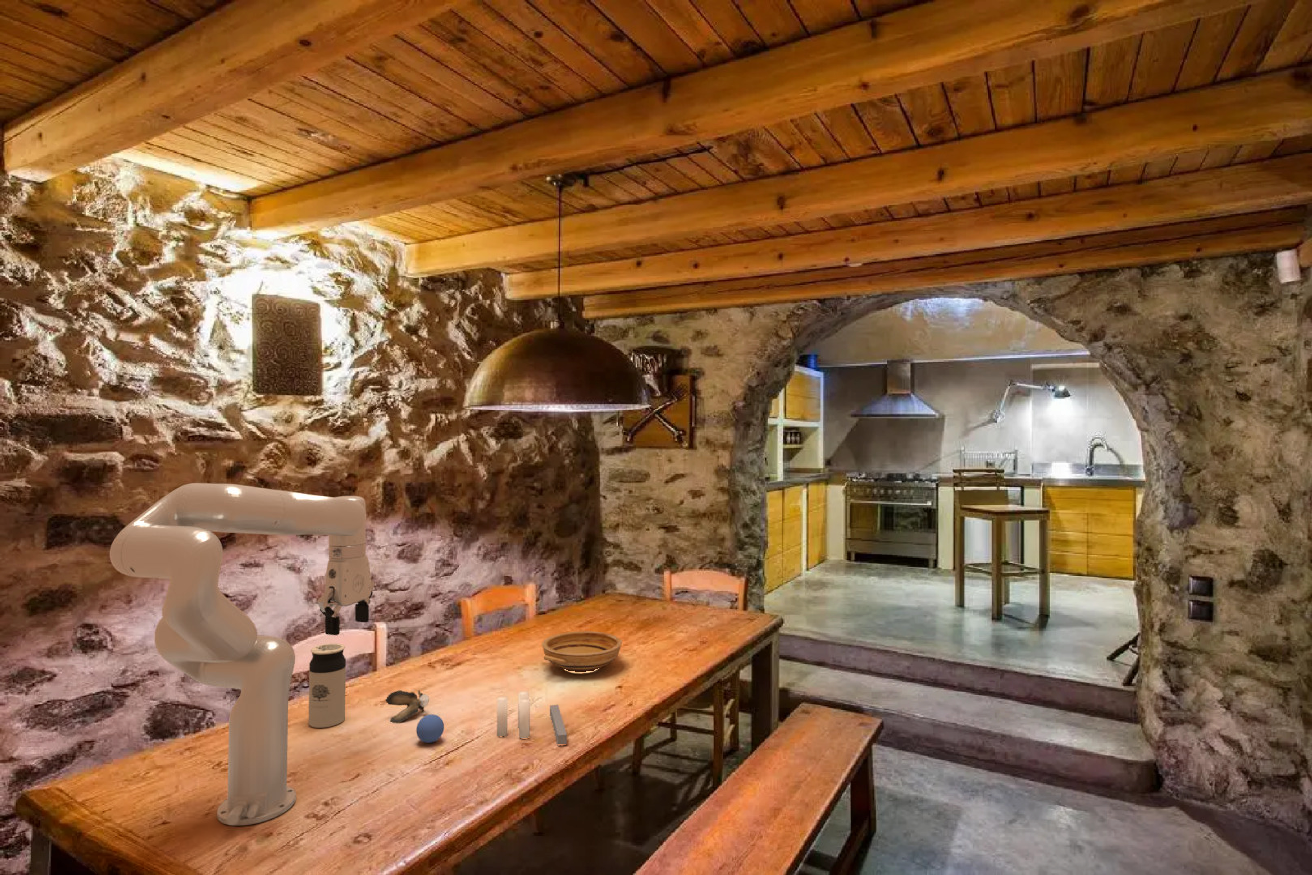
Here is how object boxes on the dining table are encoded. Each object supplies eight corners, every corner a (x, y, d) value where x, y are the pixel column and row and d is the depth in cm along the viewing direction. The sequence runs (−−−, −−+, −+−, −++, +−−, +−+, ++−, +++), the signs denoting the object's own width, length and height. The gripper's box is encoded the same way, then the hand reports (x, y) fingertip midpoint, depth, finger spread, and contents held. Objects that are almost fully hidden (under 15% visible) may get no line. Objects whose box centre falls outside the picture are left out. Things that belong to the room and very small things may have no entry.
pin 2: (530, 739, 157) (530, 702, 157) (519, 740, 156) (519, 702, 156) (529, 734, 159) (529, 698, 159) (518, 735, 158) (519, 699, 158)
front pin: (507, 736, 158) (507, 699, 158) (496, 737, 157) (497, 700, 157) (507, 732, 160) (507, 696, 160) (496, 733, 160) (497, 697, 160)
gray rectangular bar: (566, 745, 154) (566, 734, 154) (557, 746, 153) (557, 735, 153) (557, 714, 171) (558, 704, 171) (549, 715, 170) (550, 705, 170)
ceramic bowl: (583, 649, 226) (584, 625, 226) (642, 663, 212) (642, 637, 212) (517, 673, 201) (518, 646, 201) (579, 691, 188) (579, 661, 188)
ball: (443, 746, 153) (443, 719, 153) (414, 748, 151) (415, 721, 151) (444, 734, 158) (444, 709, 158) (417, 737, 157) (417, 711, 157)
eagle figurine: (412, 701, 176) (380, 705, 169) (425, 681, 174) (393, 683, 167) (423, 725, 171) (391, 729, 164) (436, 704, 170) (404, 708, 163)
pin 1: (528, 730, 162) (529, 694, 162) (518, 731, 161) (518, 695, 161) (527, 726, 164) (528, 690, 164) (517, 726, 163) (518, 691, 163)
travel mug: (325, 713, 170) (326, 641, 170) (352, 717, 168) (353, 644, 168) (300, 726, 162) (301, 651, 162) (328, 730, 160) (330, 654, 160)
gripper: (334, 560, 142) (335, 641, 143) (386, 545, 159) (386, 618, 160) (304, 558, 144) (304, 638, 145) (358, 544, 161) (358, 616, 161)
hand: (347, 627), depth 152 cm, fingers open, 9 cm apart
